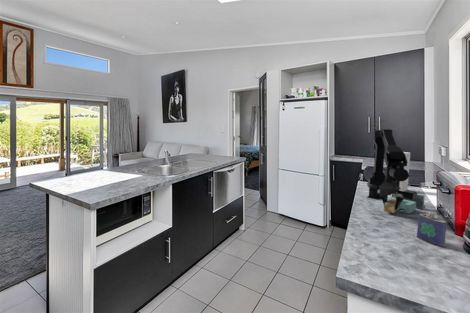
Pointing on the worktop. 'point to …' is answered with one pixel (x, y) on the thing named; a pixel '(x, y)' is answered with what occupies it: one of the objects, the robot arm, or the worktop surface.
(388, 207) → the oak peg
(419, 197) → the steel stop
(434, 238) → the flask
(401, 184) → the cylindrical container
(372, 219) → the worktop surface
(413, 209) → the slot block
